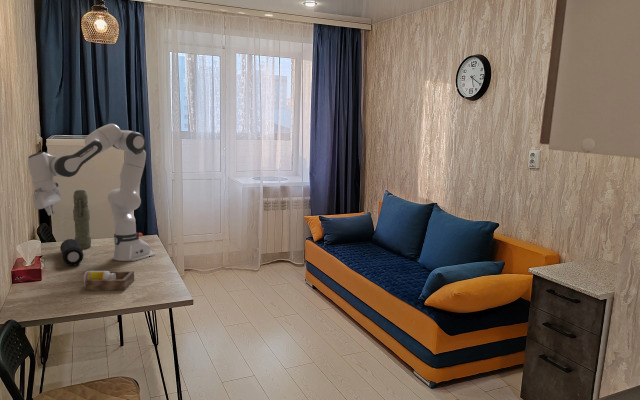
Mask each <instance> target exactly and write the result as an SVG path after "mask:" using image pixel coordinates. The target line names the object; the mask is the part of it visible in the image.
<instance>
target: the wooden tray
mask: <svg viewBox="0 0 640 400" xmlns="http://www.w3.org/2000/svg"><path fill="white" fill-rule="evenodd" d="M108 271H109V270H108ZM109 272H110V273H115V274H116V279H115V280H85V283H84V287H85V291H126V290H127V289H128V288H129V285H130V286H131V284H132V283H134V281H135V271H133V270H132V271H131V270H129V271H128V270H127V271H125V270H124V271H123V270H121V271H120V270H119V271H117V270H113V271H112V270H110V271H109Z"/></svg>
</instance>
